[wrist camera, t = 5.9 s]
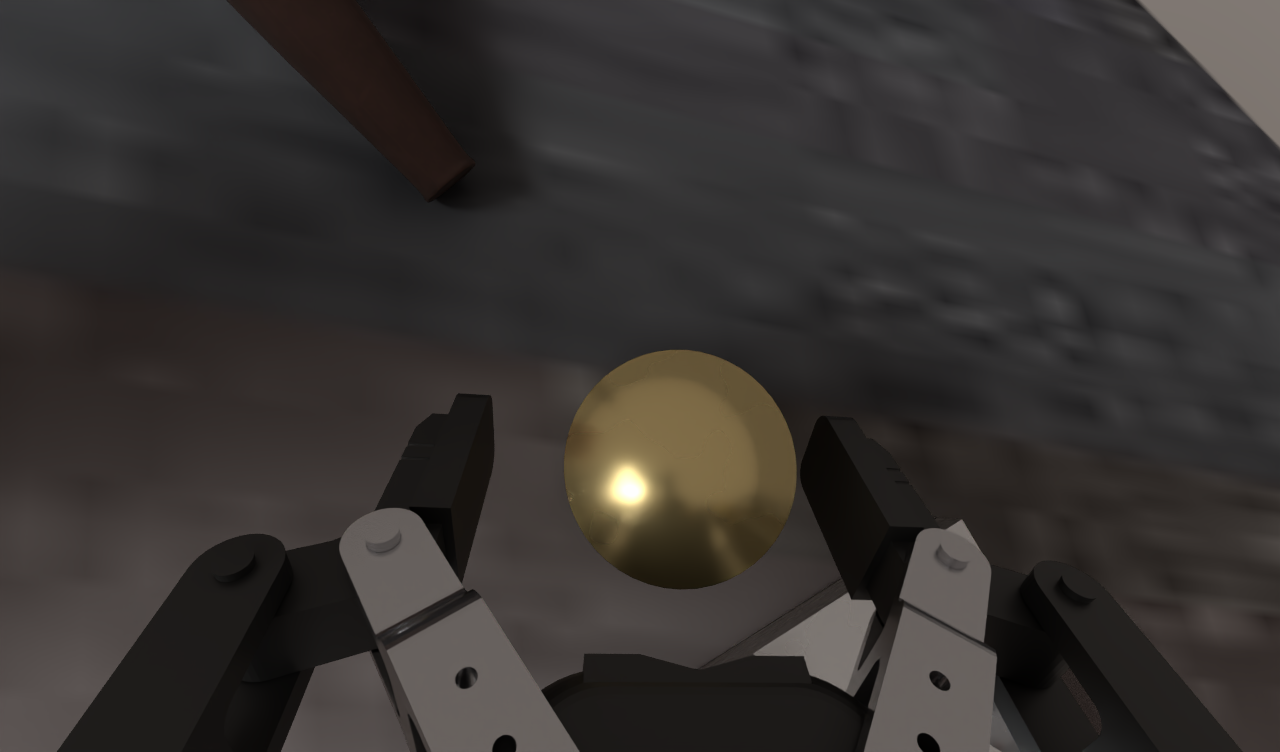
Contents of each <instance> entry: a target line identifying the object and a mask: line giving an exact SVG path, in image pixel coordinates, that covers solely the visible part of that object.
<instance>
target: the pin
mask: <svg viewBox="0 0 1280 752" xmlns="http://www.w3.org/2000/svg"><path fill="white" fill-rule="evenodd" d="M796 475H797V467H796V455H795V450H794V445H793V440H792V437H791V434H790V431H789V428H788V425H787V423H786V421H785V419H784V417H783V415H782V413H781V411H780V409H779V408H778V406H777V405H776V403H775V402H774V400H773V398H772V397H771V396H770V395H769V394H768V392H767V391H766V390H765V389H764V388H763V387H762V386H761V385H760V384H759V383H758V382H757V381H756V380H755V379H754V378H753V377H752V376H750V375H749V374H748V373H746V372H745V371H743V370H742V369H741V368H739V367H737V366H735V365H734V364H732V363H730V362H728V361H726V360H724V359H721V358H719V357H716V356H714V355H710V354H706V353H702V352H697V351H690V350H666V351H658V352H653V353H649V354H646V355H642V356H640V357H637V358H635V359H632V360H630V361H628V362H626V363H624V364H622V365H621V366H619V367H617V368H616V369H614V370H613V371H612V372H610V373H609V374H608V375H606V376H605V377H604V378H603V379H602V380H601V381H600V382H599V383H598V384H597V385H596V386H595V387H594V388H593V389H592V390H591V391H590V393H589V394H588V395H587V397H586V398H585V399H584V401H583V403H582V404H581V406H580V408H579V409H578V411H577V413H576V415H575V418H574V420H573V422H572V425H571V427H570V431H569V434H568V438H567V442H566V448H565V456H564V478H565V485H566V492H567V496H568V499H569V503H570V507H571V509H572V512H573V514H574V517H575V519H576V521H577V523H578V525H579V527H580V528H581V530H582V532H583V534H584V535H585V537H586V538H587V539H588V541H589V542H590V543H591V545H592V546H593V547H594V549H595V550H596V551H597V552H598V553H599V554H600V555H601V556H602V557H603V558H604V559H605V560H606V561H608V562H609V563H610V564H612V565H613V566H614V567H616V568H617V569H618V570H620V571H622V572H623V573H625V574H627V575H629V576H630V577H632V578H634V579H637V580H639V581H642V582H644V583H647V584H650V585H654V586H658V587H663V588H671V589H697V588H702V587H708V586H712V585H715V584H718V583H721V582H724V581H727V580H729V579H731V578H733V577H735V576H737V575H739V574H741V573H742V572H744V571H745V570H746V569H748V568H749V567H751V566H752V565H753V564H755V563H756V562H757V561H758V560H759V559H760V558H761V557H762V556H763V555H764V554H765V553H766V552H767V551H768V550H769V548H770V547H771V546H772V545H773V543H774V542H775V541H776V539H777V537H778V536H779V534H780V533H781V531H782V529H783V527H784V525H785V523H786V521H787V518H788V516H789V514H790V510H791V507H792V504H793V500H794V495H795V488H796Z"/></svg>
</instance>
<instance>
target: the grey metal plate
mask: <svg viewBox="0 0 1280 752" xmlns="http://www.w3.org/2000/svg"><path fill="white" fill-rule="evenodd" d="M935 521H936V522H937V524H938V525H939V527H940V528H941V529H944V530H947V531H951V532H953V533H955V534H958V535H960V536H961V537H963V538H965V539H966V540H968V541H970V542H971V543H972V544H973V545H975V546H976V547H977V548H978V549H979V547H978V545H977V544H976V542H975V540H974V539H973V537H972V535H971V534H970V532H969V530H968V529H967V527H966V525H965V524H964V522H963V520H962V519H950V518H936V519H935ZM979 550H980V549H979ZM980 551H981V550H980ZM875 609H876V608H875V605H874V603H873V601H872V600H851V598H850V595H849V593H848V591H847V589H846V586H845V584H844V582H843V579H840V580H839V581H837V582H836V583H834V584H832V585H831V586H829V587H828V588H826V589H825V590H823V591H821V592H820V593H818V594H817V595H815V596H813V597H812V598H810V599H809V600H807V601H806V602H804V603H802V604H801V605H799V606H798V607H796V608H795V609H793V610H791V611H790V612H788V613H787V614H785V615H784V616H782V617H780V618H779V619H777V620H776V621H774V622H773V623H771V624H769V625H768V626H766V627H765V628H763V629H761V630H760V631H758V632H757V633H755V634H754V635H752V636H750V637H749V638H747V639H746V640H744V641H743V642H741V643H739V644H738V645H736V646H735V647H733V648H732V649H730V650H728V651H727V652H725V653H724V654H722V655H721V656H719V657H717V658H716V659H714V660H713V661H711V662H709V663H708V664H706V665H705V666H703V667H702V668H700V669H705V668H709V667H712V666H716V665H720V664H723V663H727V662H730V661H734V660H737V659H741V658H745V657H748V656H804V659H805V662H806V665H807V668H808V671H809V674H810V675H811V676H814V677H817V678H819V679H822V680H824V681H827V682H829V683H831V684H833V685H835V686H836V687H838V688H840V689H842V690H843V691H846V689H847V687H848V684H849V681H850V679H851V676H852V673H853V670H854V667H855V664H856V661H857V658H858V655H859V651H860V648H861V645H862V642H863V639H864V636H865V633H866V630H867V627H868V624H869V621H870V618H871V616H872V614H873V612H874V611H875ZM989 752H1020V750H1019V748H1018V747H1017V745H1016V743H1015V741H1014V739H1013V737H1012V735H1011V733H1010V731H1009V730H1008V728H1007V726H1006V724H1005V722H1004V720H1003V718H1002V716H1001V714H1000V713H999V711H998V709H997V707H996V705H995V703H994V701H993V712H992V724H991V736H990V748H989Z"/></svg>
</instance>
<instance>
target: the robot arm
mask: <svg viewBox="0 0 1280 752" xmlns="http://www.w3.org/2000/svg"><path fill="white" fill-rule="evenodd" d="M493 462H494V427H493V407H492V398H491V396H490V395H476V394H460V393H458V394H457V395H456V398H455V400H454V402H453V405H452V407H451V409H450V412H449V414H433V413H432V414H431V415H430V416H429V417H428V418H426V419H425V420H424V421H423V422H422V423H420V424H419V425H418V426H417V427H416V428H415V430H414V432H413V434H412V436H411V438H410V440H409V442H408V446H407V447H406V449H405V451H404V453H403V455H402V459H401V460H400V461H399V463H398V465H397V467H396V469H395V471H394V473H393V475H392V477H391V479H390V481H389V483H388V485H387V487H386V489H385V491H384V493H383V495H382V497H381V499H380V501H379V503H378V505H377V507H376V509H375V511H374V512H371V513H369V514H367V515H364V516H363V517H361V518H359V519H358V520H356V521H355V522H354V523H353V524H351V525H350V526H349V528H348V529H347V530H346V531H345V533H344V534H343V536H342V537H341V538H338V539H335V540H333V541H329V542H325V543H320V544H316V545H311V546H306V547H302V548H297V549H292V550H288V551H285V548H284V545H283V544H282V543H281V541H279V540H278V539H277V538H275V537H272V536H270V535H265V534H249V535H243V536H239V537H235V538H232V539H229V540H226V541H224V542H222V543H220V544H218V545H216V546H214V547H212V548H211V549H209V550H207V551H206V552H205V553H203V554H202V555H201V556H199V557H198V558H197V559H196V560H195V561H194V562H193V563H192V564H191V565H190V567H189V568H188V569H187V571H186V572H185V573H184V575H183V576H182V578H181V579H180V580H179V582H178V583H177V585H176V586H175V587H174V589H173V590H172V592H171V593H170V594H169V596H168V597H167V599H166V600H165V601H164V603H163V604H162V606H161V607H160V608H159V610H158V611H157V613H156V614H155V615H154V617H153V618H152V620H151V621H150V622H149V624H148V625H147V627H146V628H145V629H144V631H143V632H142V634H141V635H140V636H139V638H138V639H137V641H136V642H135V643H134V645H133V646H132V648H131V649H130V650H129V652H128V653H127V655H126V656H125V657H124V659H123V660H122V662H121V663H120V664H119V666H118V667H117V669H116V670H115V671H114V673H113V674H112V675H111V677H110V678H109V680H108V681H107V682H106V684H105V685H104V687H103V688H102V689H101V691H100V692H99V694H98V695H97V696H96V698H95V699H94V701H93V702H92V703H91V705H90V706H89V708H88V709H87V710H86V712H85V713H84V715H83V716H82V717H81V719H80V720H79V722H78V723H77V724H76V726H75V727H74V729H73V730H72V731H71V733H70V734H69V736H68V737H67V738H66V740H65V741H64V743H63V744H62V745H61V747H60V748H59V750H58V751H57V752H281V750H282V747H283V745H284V742H285V740H286V737H287V735H288V732H289V730H290V728H291V725H292V723H293V720H294V718H295V715H296V713H297V710H298V708H299V705H300V703H301V700H302V698H303V695H304V693H305V690H306V688H307V685H308V683H309V680H310V678H311V675H312V673H313V670H314V668H315V666H318V665H322V664H325V663H329V662H332V661H336V660H339V659H343V658H346V657H349V656H353V655H356V654H360V653H363V652H367V651H369V652H370V654H371V657H372V659H373V661H374V664H375V666H376V669H377V671H378V673H379V676H380V678H381V680H382V683H383V685H384V688H385V690H386V692H387V695H388V697H389V700H390V702H391V704H392V707H393V709H394V712H395V714H396V716H397V719H398V721H399V724H400V726H401V729H402V731H403V734H404V736H405V739H406V742H407V745H408V748H409V751H410V752H989V748H990V736H991V724H992V712H993V701H994V703H995V705H996V707H997V709H998V711H999V713H1000V714H1001V716H1002V718H1003V720H1004V722H1005V724H1006V726H1007V728H1008V730H1009V731H1010V733H1011V735H1012V737H1013V739H1014V741H1015V743H1016V745H1017V747H1018V748H1019V750H1020V752H1243V751H1242V750H1241V749H1240V748H1239V747H1238V746H1237V744H1236V743H1235V742H1234V741H1233V740H1232V738H1231V737H1230V736H1229V735H1228V734H1227V732H1226V731H1225V730H1224V729H1223V728H1222V727H1221V725H1220V724H1219V723H1218V722H1217V721H1216V719H1215V718H1214V717H1213V716H1212V715H1211V714H1210V712H1209V711H1208V710H1207V709H1206V708H1205V706H1204V705H1203V704H1202V703H1201V702H1200V700H1199V699H1198V698H1197V697H1196V696H1195V695H1194V693H1193V692H1192V691H1191V690H1190V689H1189V687H1188V686H1187V685H1186V684H1185V683H1184V682H1183V680H1182V679H1181V678H1180V677H1179V676H1178V674H1177V673H1176V672H1175V671H1174V670H1173V668H1172V667H1171V666H1170V665H1169V664H1168V663H1167V661H1166V660H1165V659H1164V658H1163V657H1162V655H1161V654H1160V653H1159V652H1158V651H1157V650H1156V648H1155V647H1154V646H1153V645H1152V644H1151V642H1150V641H1149V640H1148V639H1147V638H1146V637H1145V635H1144V634H1143V633H1142V632H1141V631H1140V629H1139V628H1138V627H1137V626H1136V625H1135V623H1134V622H1133V621H1132V620H1131V619H1130V618H1129V616H1128V615H1127V614H1126V613H1125V612H1124V610H1123V609H1122V608H1121V607H1120V606H1119V605H1118V603H1117V602H1116V601H1115V600H1114V599H1113V597H1112V596H1111V595H1110V594H1109V593H1108V592H1107V591H1106V590H1105V588H1104V587H1102V586H1101V585H1100V584H1099V583H1098V582H1097V581H1095V580H1094V579H1093V578H1091V577H1090V576H1088V575H1087V574H1085V573H1084V572H1082V571H1080V570H1078V569H1076V568H1074V567H1072V566H1069V565H1067V564H1064V563H1060V562H1056V561H1042V562H1040V563H1038V564H1037V565H1036V566H1035V567H1034V568H1033V570H1032V571H1031V572H1030V573H1029V575H1025V574H1022V573H1018V572H1015V571H1011V570H1008V569H1004V568H1001V567H997V566H994V565H991V564H989V562H988V560H987V559H986V557H985V556H984V554H983V553H982V552H981V551H980V550H979V549H978V548H977V547H976V546H975V545H973V544H972V543H971V542H970V541H968V540H966V539H965V538H963V537H961V536H960V535H958V534H955V533H953V532H951V531H947V530H944V529H941V528H940V527H939V525H938V524H937V522H936V521H935V519H934V518H933V516H932V515H931V513H930V512H929V510H928V509H927V508H926V506H925V505H924V503H923V502H922V500H921V499H920V497H919V496H918V494H917V493H916V491H915V490H914V488H913V487H912V485H909V481H908V480H907V478H906V477H905V475H904V474H903V472H900V468H899V466H898V465H897V463H896V462H895V461H894V459H893V458H892V456H891V455H890V453H889V452H888V451H886V450H885V449H884V448H883V447H881V446H880V445H879V444H878V443H877V442H875V441H874V440H873V439H867V438H866V436H865V435H864V433H863V432H862V430H861V429H860V427H859V426H858V424H857V422H856V421H855V420H854V419H853V418H848V417H831V416H821V417H819V418H818V420H817V421H816V424H815V426H814V429H813V432H812V435H811V438H810V440H809V443H808V446H807V449H806V451H805V454H804V457H803V460H802V463H801V469H800V478H801V484H802V487H803V490H804V492H805V494H806V496H807V499H808V501H809V503H810V506H811V508H812V510H813V513H814V515H815V517H816V520H817V522H818V524H819V526H820V529H821V531H822V533H823V536H824V538H825V540H826V543H827V545H828V547H829V549H830V552H831V554H832V556H833V559H834V561H835V563H836V566H837V568H838V570H839V572H840V575H841V577H842V579H843V582H844V584H845V586H846V589H847V591H848V593H849V595H850V598H851V600H872V601H873V603H874V605H875V608H876V609H875V611H874V612H873V614H872V616H871V618H870V621H869V624H868V627H867V630H866V633H865V636H864V639H863V642H862V645H861V648H860V651H859V655H858V658H857V661H856V664H855V667H854V670H853V673H852V676H851V679H850V681H849V684H848V687H847V689H846V691H843V690H842V689H840V688H838V687H836V686H835V685H833V684H831V683H829V682H827V681H824V680H822V679H819V678H817V677H814V676H811V675H810V674H809V671H808V668H807V665H806V662H805V659H804V656H748V657H745V658H741V659H737V660H734V661H730V662H727V663H723V664H720V665H716V666H712V667H709V668H705V669H692V668H688V667H685V666H681V665H677V664H674V663H670V662H666V661H663V660H659V659H655V658H652V657H648V656H644V655H641V654H584V664H583V672H579V673H576V674H572V675H569V676H567V677H564V678H562V679H560V680H557V681H556V682H554V683H552V684H550V685H549V686H547V687H545V688H544V689H542V690H540V689H539V687H538V685H537V684H536V682H535V681H534V679H533V678H532V676H531V674H530V673H529V671H528V670H527V668H526V667H525V665H524V663H523V662H522V660H521V659H520V657H519V655H518V654H517V652H516V651H515V649H514V648H513V646H512V644H511V643H510V641H509V640H508V638H507V637H506V635H505V633H504V632H503V630H502V629H501V627H500V626H499V624H498V622H497V621H496V619H495V618H494V616H493V614H492V613H491V611H490V610H489V608H488V607H487V605H486V603H485V602H484V600H483V599H482V597H481V596H480V595H479V594H478V593H477V592H476V591H475V590H473V589H472V590H470V591H468V592H467V591H466V590H465V589H464V587H463V586H462V581H463V577H464V573H465V570H466V566H467V562H468V558H469V555H470V551H471V547H472V544H473V540H474V536H475V532H476V529H477V525H478V521H479V517H480V514H481V510H482V506H483V503H484V499H485V495H486V491H487V488H488V484H489V480H490V477H491V473H492V468H493ZM1069 668H1070V669H1071V670H1072V672H1073V673H1074V675H1075V676H1076V678H1077V679H1078V681H1079V682H1080V683H1081V685H1082V686H1083V688H1084V689H1085V691H1086V692H1087V694H1088V695H1089V697H1090V698H1091V700H1092V701H1093V703H1094V704H1095V706H1096V707H1097V710H1098V712H1099V714H1100V718H1101V723H1102V730H1101V733H1100V735H1098V734H1097V732H1096V731H1095V729H1094V727H1093V726H1092V724H1091V723H1090V721H1089V720H1088V718H1087V717H1086V715H1085V714H1084V712H1083V711H1082V709H1081V708H1080V706H1079V705H1078V703H1077V702H1076V700H1075V698H1074V697H1073V695H1072V694H1071V692H1070V691H1069V689H1068V688H1067V686H1066V685H1065V683H1064V682H1063V680H1062V679H1061V676H1062V675H1063V674H1064V673H1065V672H1066V671H1067V670H1068V669H1069Z"/></svg>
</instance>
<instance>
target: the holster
mask: <svg viewBox="0 0 1280 752" xmlns="http://www.w3.org/2000/svg"><path fill="white" fill-rule="evenodd" d="M227 1H228V2H229V3H230V4H231V5H232V6H233V7H234V8H235V9H236V10H237V12H238V13H239V14H240V15H241V16H242V17H243V18H244V19H245V20H246V21H247V22H248V23H249V24H250V25H251V26H252V27H253V28H254V29H255V30H256V31H257V32H258V33H259V34H260V35H261V36H262V37H263V38H264V39H265V40H266V41H267V42H268V43H269V44H270V45H271V46H272V47H273V48H274V49H275V50H276V51H277V52H278V53H279V54H280V55H281V56H282V57H283V58H284V59H285V60H286V61H287V62H288V63H289V64H290V65H291V66H292V67H293V68H294V69H296V70H297V71H298V72H299V73H300V74H301V75H302V76H303V77H304V78H305V79H306V80H307V81H308V82H309V83H310V84H311V85H312V86H313V87H314V88H315V89H316V90H317V91H318V92H319V93H320V94H321V95H322V96H323V97H324V98H325V99H326V100H327V101H328V102H330V103H331V104H332V105H333V106H334V107H335V108H336V109H337V110H338V111H339V112H340V113H341V114H342V115H343V116H344V117H345V118H346V119H347V120H348V121H349V122H350V123H351V124H352V125H353V126H354V127H355V128H356V129H357V130H358V131H359V132H360V133H361V134H362V135H363V136H364V137H365V138H366V139H367V140H368V141H369V142H370V143H371V144H372V145H373V146H374V147H375V148H376V149H377V150H378V151H379V152H381V153H382V154H383V155H384V156H385V157H386V158H387V159H388V160H389V161H390V162H391V163H392V164H393V165H394V166H395V167H396V168H397V169H398V170H399V171H400V172H401V173H402V174H403V175H404V176H405V177H406V178H407V179H408V180H409V181H410V182H411V183H412V184H413V185H414V186H415V187H416V188H417V190H418V191H419V192H420V193H421V194H422V195H423V197H424V199H425V200H426V201H427V202H431V201H433V200H434V199H436V198H437V197H439V196H440V195H441V194H443V193H444V192H445V191H447V190H448V189H449V188H451V187H452V186H453V185H454V184H456V183H457V182H458V181H459V180H460V179H461V178H463V177H464V176H465V175H466V174H467V173H468V172H469V171H470V170H471V169H472V168H473V167H474V166H475V161H474V160H473V159H471V158H470V157H469V156H468V155H467V154H466V152H465V151H464V150H463V149H462V147H461V146H460V145H459V143H458V142H457V141H456V139H455V138H454V137H453V135H452V134H451V132H450V131H449V130H448V128H447V127H446V125H445V124H444V123H443V121H442V120H441V118H440V117H439V116H438V114H437V113H436V111H435V110H434V109H433V107H432V106H431V104H430V103H429V102H428V100H427V99H426V97H425V96H424V95H423V93H422V92H421V90H420V89H419V87H418V86H417V85H416V83H415V82H414V80H413V79H412V78H411V76H410V75H409V73H408V72H407V71H406V69H405V68H404V67H403V65H402V64H401V62H400V61H399V60H398V58H397V57H396V55H395V54H394V53H393V51H392V50H391V49H390V47H389V46H388V44H387V43H386V42H385V40H384V39H383V37H382V36H381V35H380V33H379V32H378V31H377V29H376V28H375V26H374V25H373V24H372V22H371V21H370V19H369V18H368V17H367V15H366V14H365V13H364V11H363V10H362V8H361V7H360V6H359V4H358V3H357V1H356V0H227Z"/></svg>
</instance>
